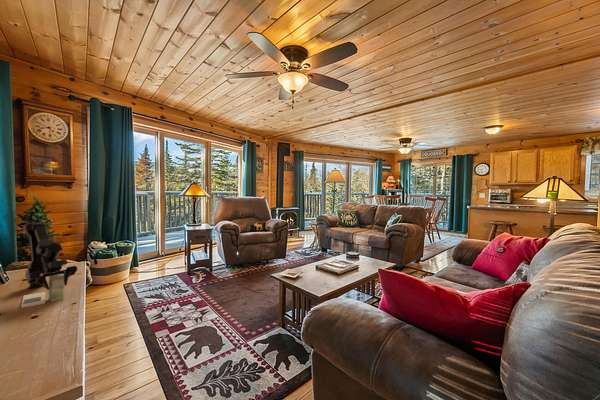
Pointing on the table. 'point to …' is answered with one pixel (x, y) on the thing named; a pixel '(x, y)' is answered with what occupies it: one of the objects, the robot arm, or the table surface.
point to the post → (56, 287)
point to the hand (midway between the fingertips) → (57, 287)
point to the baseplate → (33, 299)
